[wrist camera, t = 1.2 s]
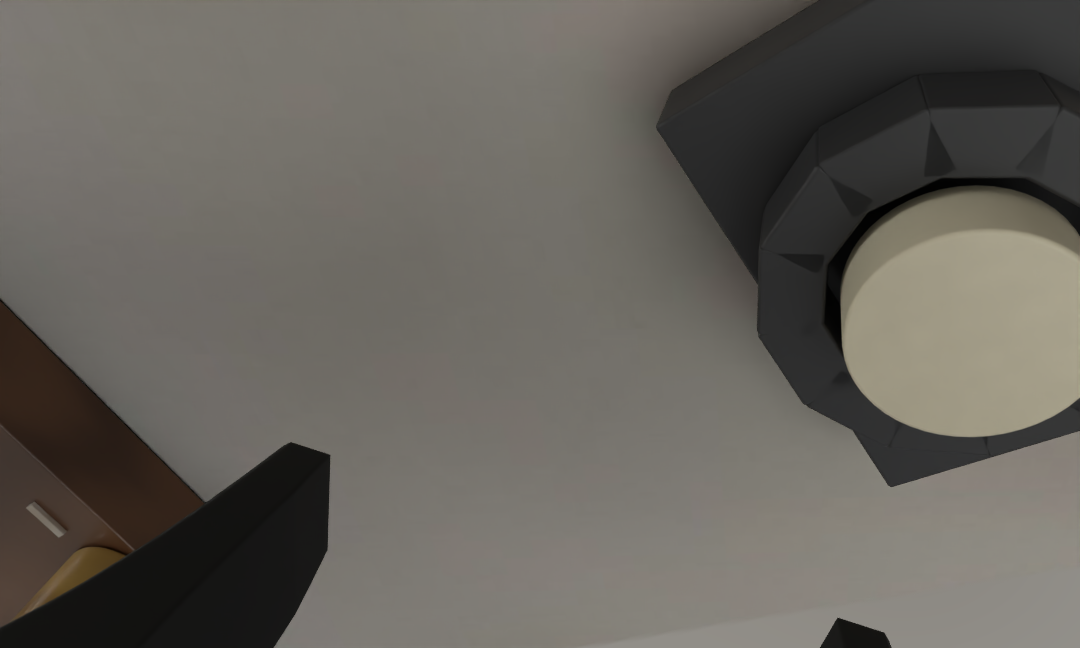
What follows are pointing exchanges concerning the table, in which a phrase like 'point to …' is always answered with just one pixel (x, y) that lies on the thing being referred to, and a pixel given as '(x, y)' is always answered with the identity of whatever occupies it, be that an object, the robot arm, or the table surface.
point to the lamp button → (965, 312)
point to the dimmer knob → (72, 575)
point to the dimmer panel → (68, 472)
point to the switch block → (876, 168)
